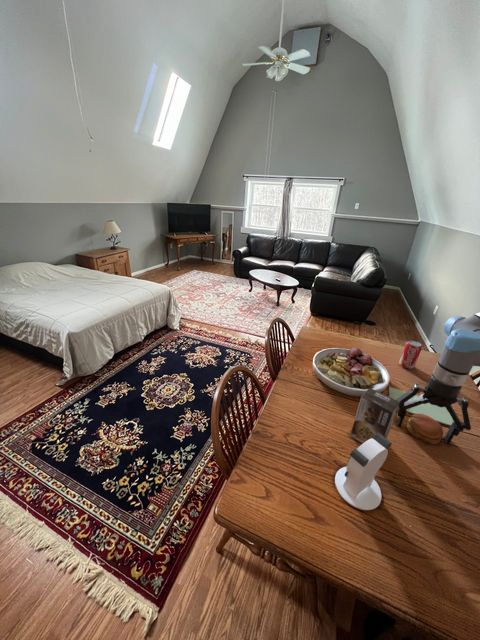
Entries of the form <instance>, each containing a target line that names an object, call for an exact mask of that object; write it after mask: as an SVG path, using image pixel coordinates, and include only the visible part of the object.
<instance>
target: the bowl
mask: <svg viewBox="0 0 480 640" xmlns="http://www.w3.org/2000/svg"><path fill="white" fill-rule="evenodd" d="M312 359H313V360H312V369H313V372H314V373H315V375H316V377H317V378H318V379H319V380H320V381H321V382H322V383H323V384H324V385H325V386H327V387H328V388H330V389H332V390H334V391H336V392H338V393H341V394H344V395H347V396H351V397H360V398H361V396H362V395H363V394H364V393H365V392H366V391H367V390H368V389H369V388H372V389H374V390H376V391H378V392H380V393H383V392H384V391H385V390H386V389H387V388H388V386H389V383H390V380H391V377H390V376H391V375H390V373H389V371H388V369H387V368H386V367H385V365H383V364H382V363H381V362H380V361H378V360H376V359H375V358H373V357H372V356H371V355H369V354H365V353H363V351H362V350H361V349H360V348H358V347H357V348H356V347H354V348H351V349H348V348H340V347H331V348H324V349H321V350H319V351H318V352H316V353H315V355H314V356H313V358H312Z"/></svg>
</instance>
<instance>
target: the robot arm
mask: <svg viewBox="0 0 480 640" xmlns="http://www.w3.org/2000/svg"><path fill="white" fill-rule="evenodd" d="M443 331H444V333H445V335H447V339H445V342H444V345H443V348H442V350H441V353H440V355H439V358H438V360H437V362H436V364H435V367H434V369H433V371H432V374H431V375H430V378H429V380H428V383H427V384H426V386H425V387H423V386H420V384H419V383H414V384H413V385H412V387H411V388H410V389H409V390H407V391H405V392H406V393H404V394H403V395H402V396H400V397H399V398H397V399H396V400H397V401H399V402H400V404H399V409H397V412H396V414H397V417H398V419H397V427H400V428H401V427H402V424H403V422H404V420H405V417H406V415H407V413H408V412H407V409H409V408H412V407H415V406H418V405H421V404H426V403H430V404H431V405H436V406H438V407H441V408H442V407H446V409H447V411H448V412H449V414H450V415H451V417H452V419H453V421H454V422H452V424H451V426H449V428H448V430H447V432H446V434H445V436H444V439H445V444H447V445H450V443H451V441H452V440H453V438H454V436H455V437H458V436H459V435H460V433H461V432H463V431H464V430H467V431H471V430H472V427H471V426H472V425H471V421H470V416H469V412H468V408H469V405H470V403H469V400H468V398H467V397H465V396H463V397H458V396H459V394H460V392H461V390H462V388H463V385H464V383H465V382H466V380H467V378H468V376H469V374H470V372H471V371H472V369H473V367H480V311H477V312H476V313H474V314H472V315H470V316H468V317H464V316H460V315H457V316H453V317H450V318H449V319H448V320H447V321H446V322H445V323H444V326H443ZM420 393H422V394H420ZM418 394H419V395H418ZM415 395H418V396H419V397H416V398H413V399H411V398H412V397H414V396H415ZM425 398H426V399H425ZM409 399H411V400H409ZM456 403H458V406H460V410H461V415H462V419H463V421H461V420H460V418H459V416H458V415H457V413H456V411H455V409H454V408H453V405H454V404H456Z"/></svg>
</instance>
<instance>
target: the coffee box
mask: <svg viewBox="0 0 480 640" xmlns="http://www.w3.org/2000/svg"><path fill="white" fill-rule="evenodd" d="M359 399H360V400H359V404H358V407H357V411H356V414H355V418H354V421H353V423H352V428H351V431H350V434H349V436H350V437H351V438H353V439H355V440H356V441H358V442H359V443H361V444H363V443H364V442H366V441H367V440H369V439H372V438H374V436H375V435H376V434H377V433H379V434H381V435H382V436H383V437H385V438H386V439H387V440H388V436H389V433H390V432H391V429H392V425H393V423H394V420H395V417H396V415H397V412H398V410H399V409H398V407H399V404H400V402H399V401H397V400H395V399H393V398H391V397H389V395H386V394H384V393H383V392H381V393H380V392H378V391H376V390H374V389H372V388H369V389H368V390H367V391H366V392H365V393H364V394H363V395H362V396H361V397H360V398H359Z"/></svg>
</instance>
